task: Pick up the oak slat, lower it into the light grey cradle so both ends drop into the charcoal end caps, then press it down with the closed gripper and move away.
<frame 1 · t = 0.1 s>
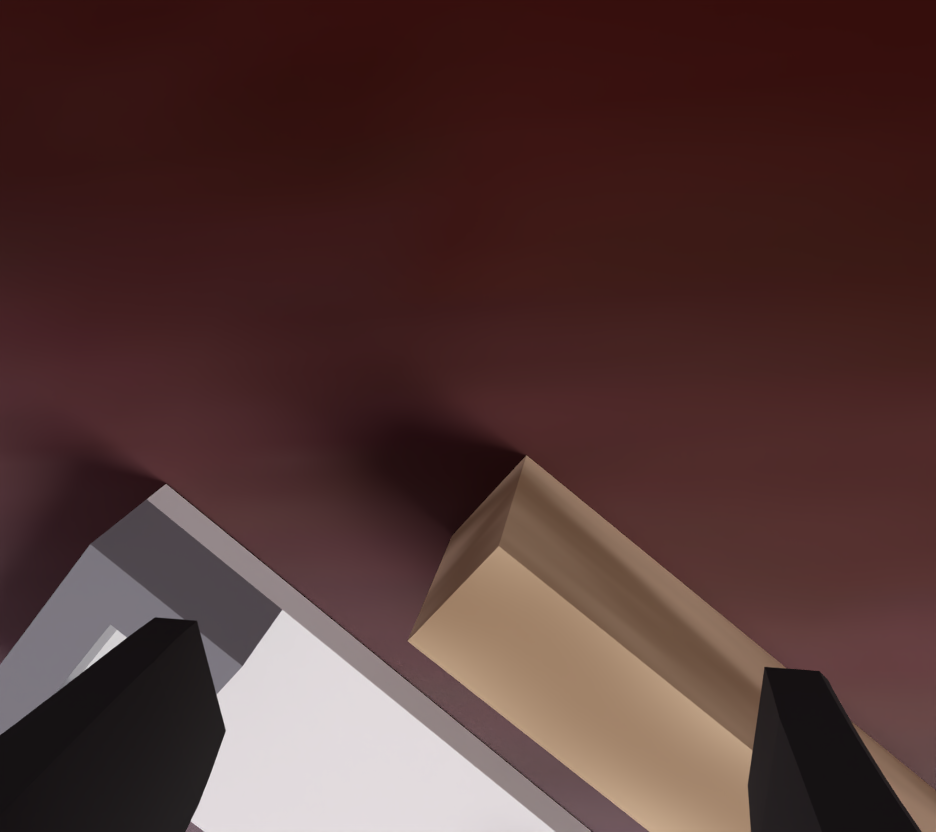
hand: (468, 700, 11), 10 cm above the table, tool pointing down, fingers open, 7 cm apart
cradle: (377, 802, 26), on the table
oak slat: (726, 685, 23), on the table
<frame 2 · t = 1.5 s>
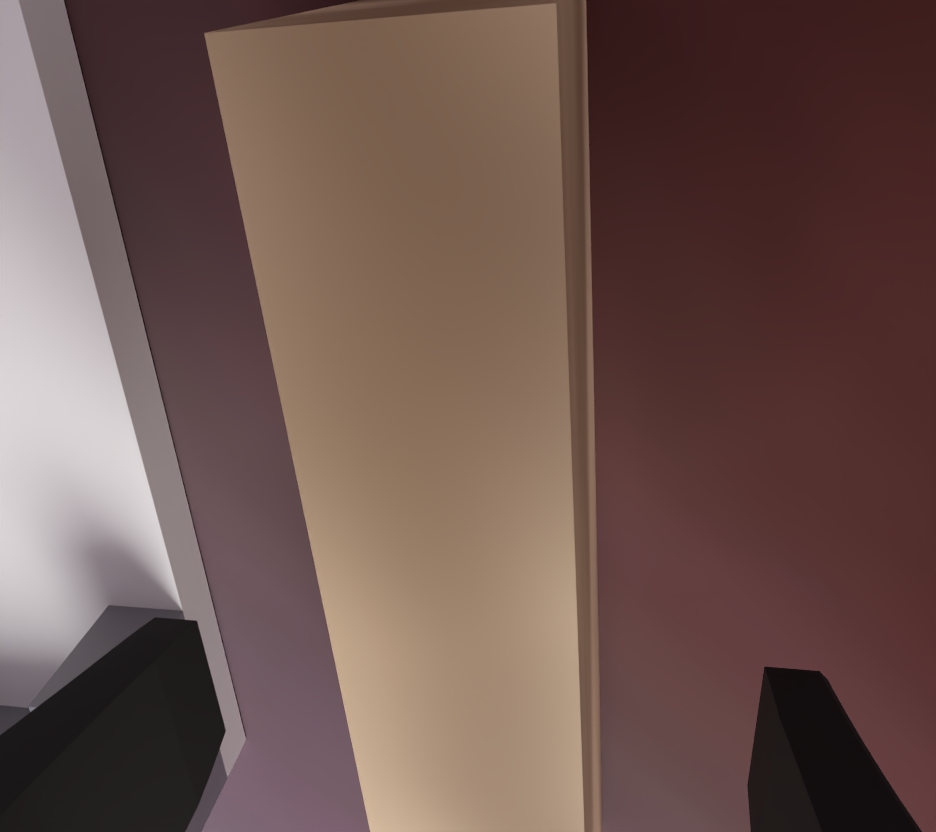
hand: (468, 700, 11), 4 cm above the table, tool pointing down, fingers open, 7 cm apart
oak slat: (509, 497, 15), on the table
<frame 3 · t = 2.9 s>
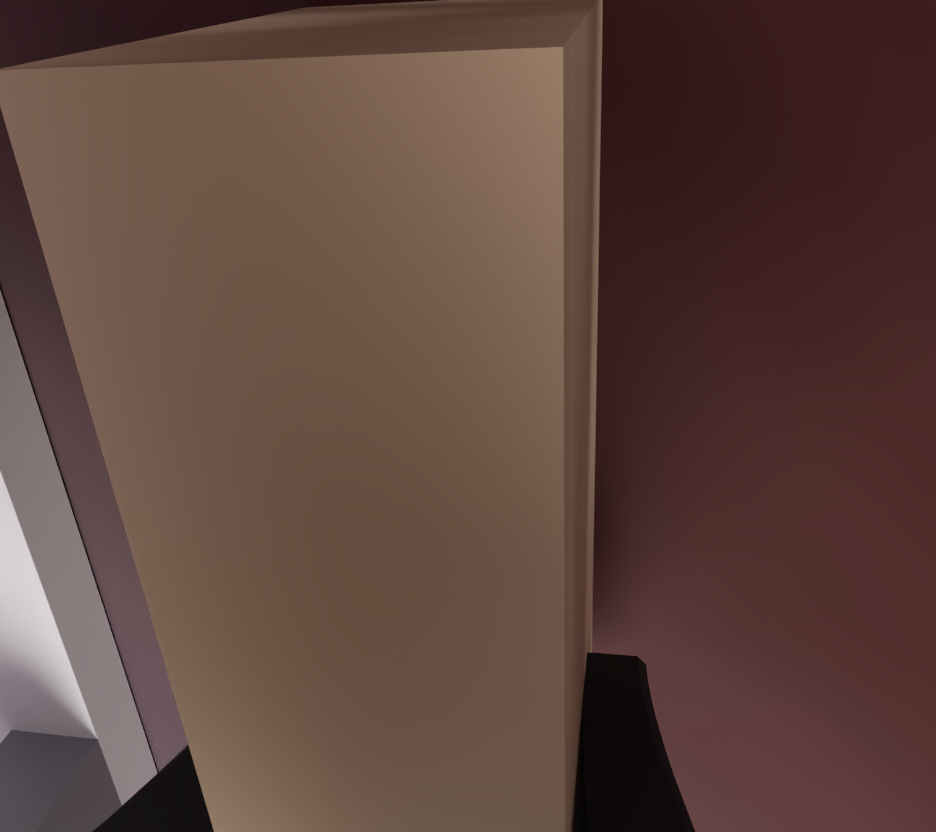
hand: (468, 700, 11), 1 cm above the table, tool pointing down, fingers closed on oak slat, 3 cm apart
oak slat: (486, 619, 12), on the table, touching gripper
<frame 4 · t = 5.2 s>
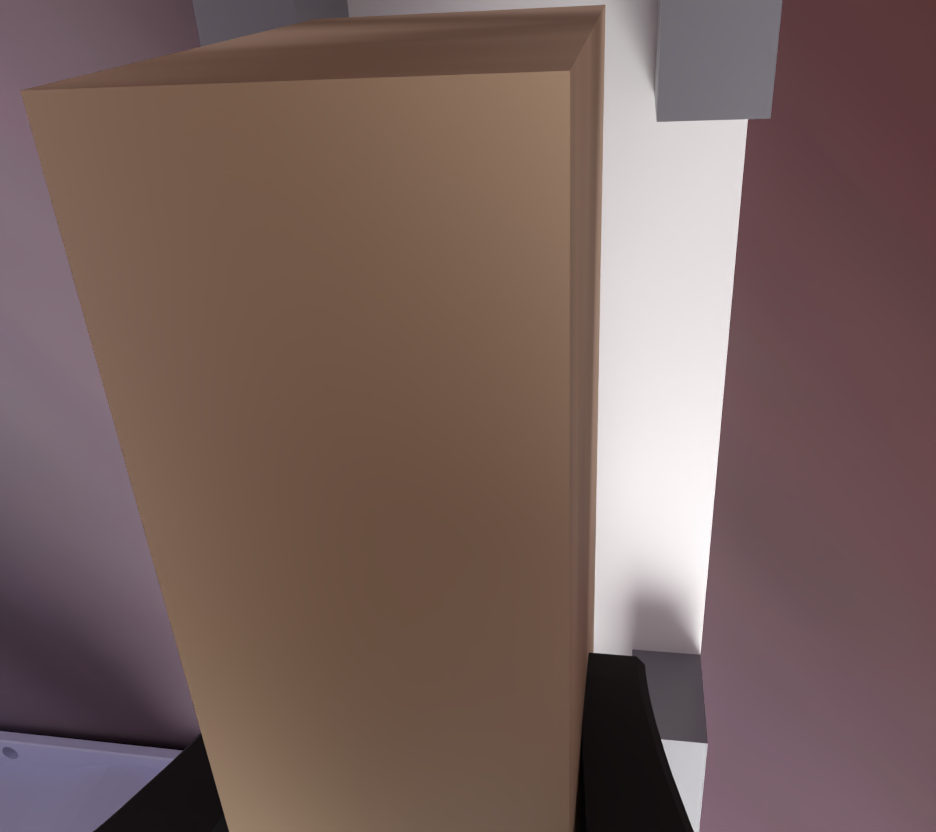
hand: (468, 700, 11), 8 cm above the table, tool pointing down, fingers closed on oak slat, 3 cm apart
cradle: (520, 391, 18), on the table
oak slat: (489, 618, 13), point 7 cm above the table, touching gripper
when the fingers open (3 cm above the table, at t = 7.2 s): oak slat stays where it is, resting on cradle.
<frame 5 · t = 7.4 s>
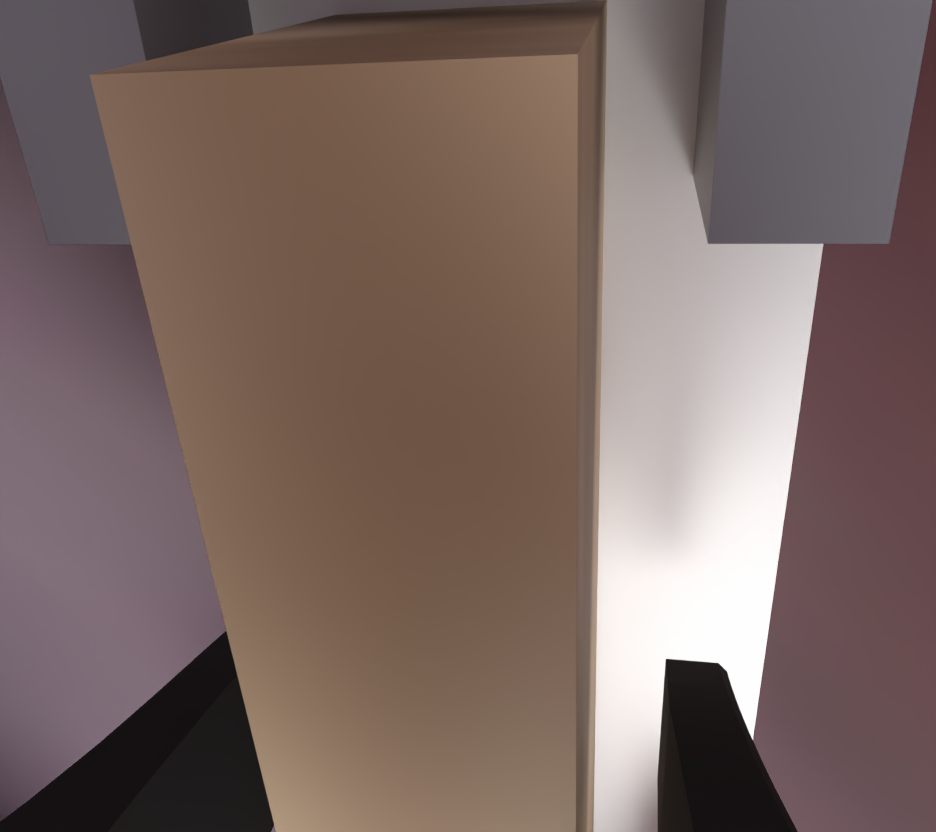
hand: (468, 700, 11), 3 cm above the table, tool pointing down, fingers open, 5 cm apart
cradle: (504, 541, 14), on the table
oak slat: (497, 588, 13), point 1 cm above the table, touching cradle
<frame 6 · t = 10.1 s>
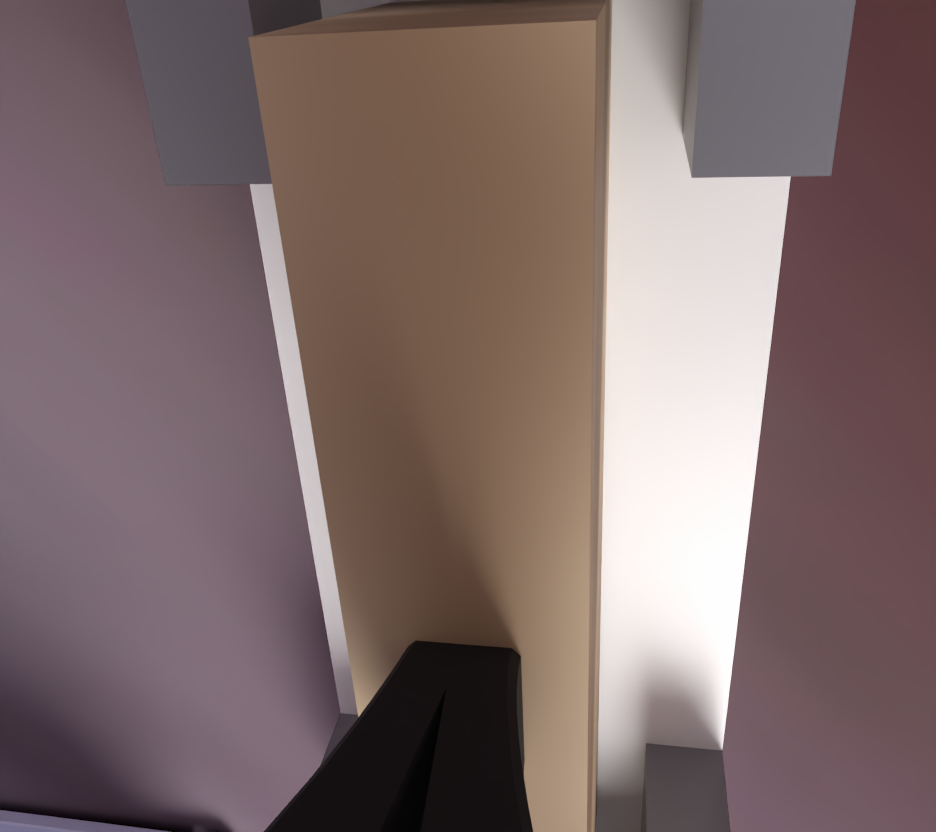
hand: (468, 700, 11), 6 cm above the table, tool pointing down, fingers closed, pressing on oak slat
cradle: (522, 460, 16), on the table
oak slat: (517, 496, 15), point 1 cm above the table, touching cradle, gripper
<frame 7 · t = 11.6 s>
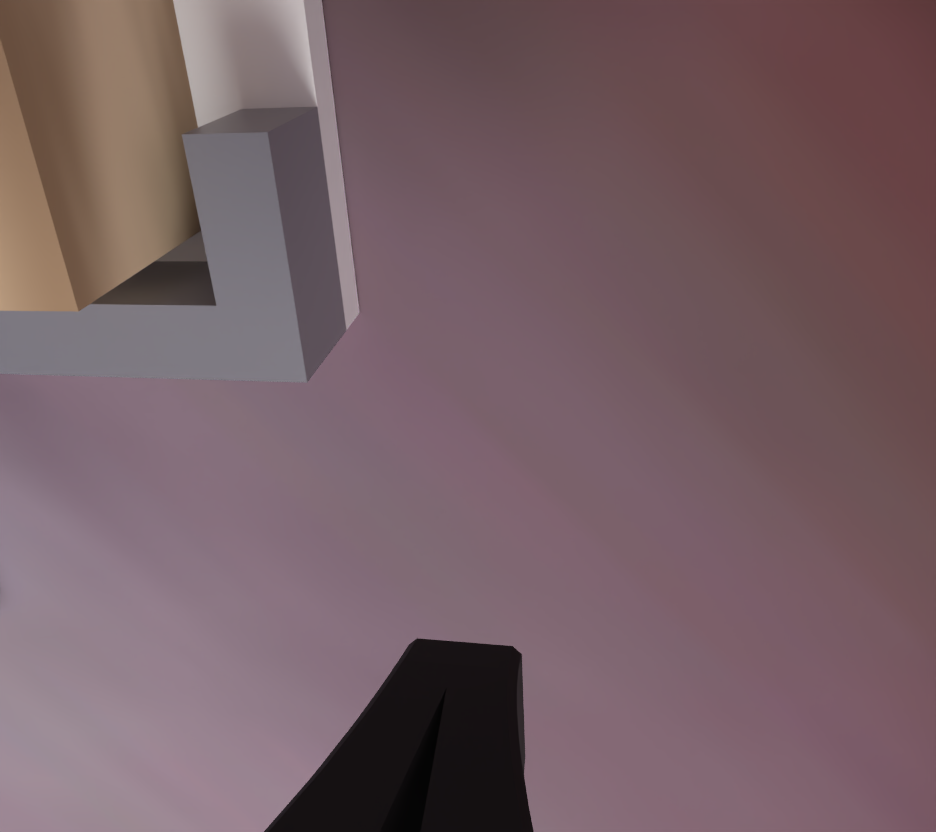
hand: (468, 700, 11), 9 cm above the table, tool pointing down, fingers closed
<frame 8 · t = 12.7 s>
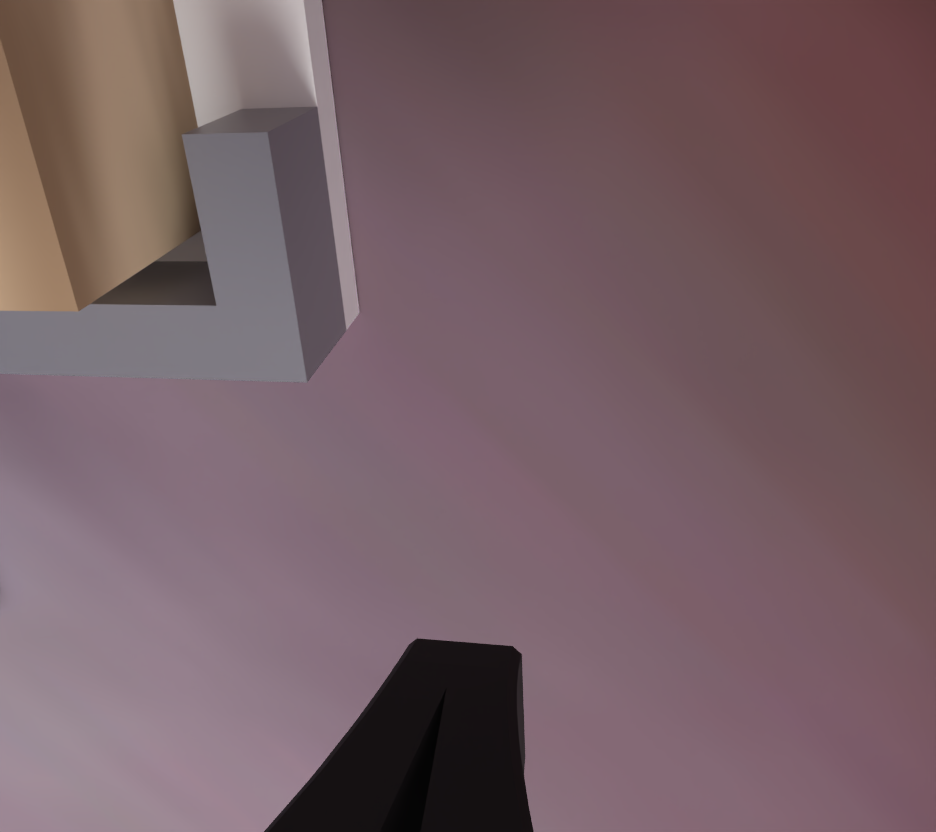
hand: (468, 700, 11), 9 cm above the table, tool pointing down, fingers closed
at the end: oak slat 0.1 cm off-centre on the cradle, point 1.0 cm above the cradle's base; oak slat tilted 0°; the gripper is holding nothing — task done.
